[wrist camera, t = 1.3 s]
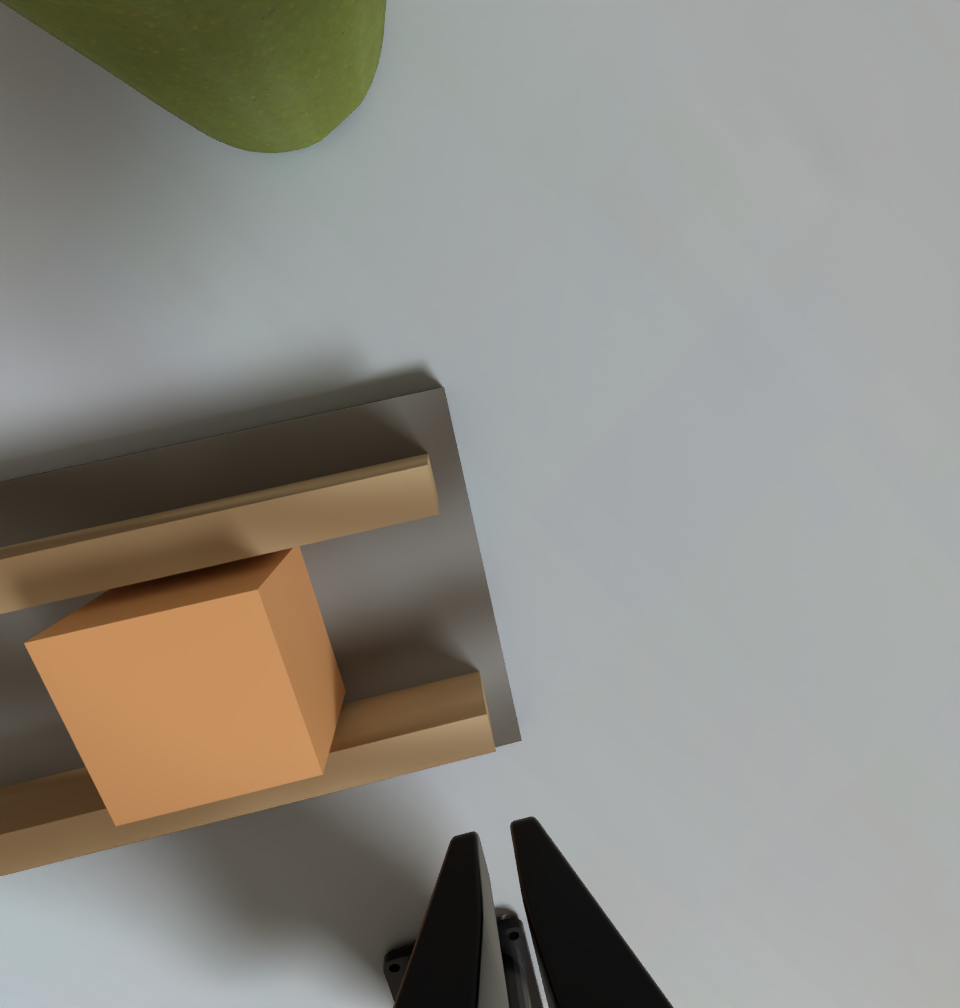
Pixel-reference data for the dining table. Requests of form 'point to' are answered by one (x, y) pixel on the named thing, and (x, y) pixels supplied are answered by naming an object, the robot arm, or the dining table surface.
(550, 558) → the dining table surface
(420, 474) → the chute
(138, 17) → the plant pot
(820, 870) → the dining table surface
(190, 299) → the dining table surface
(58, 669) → the orange block
